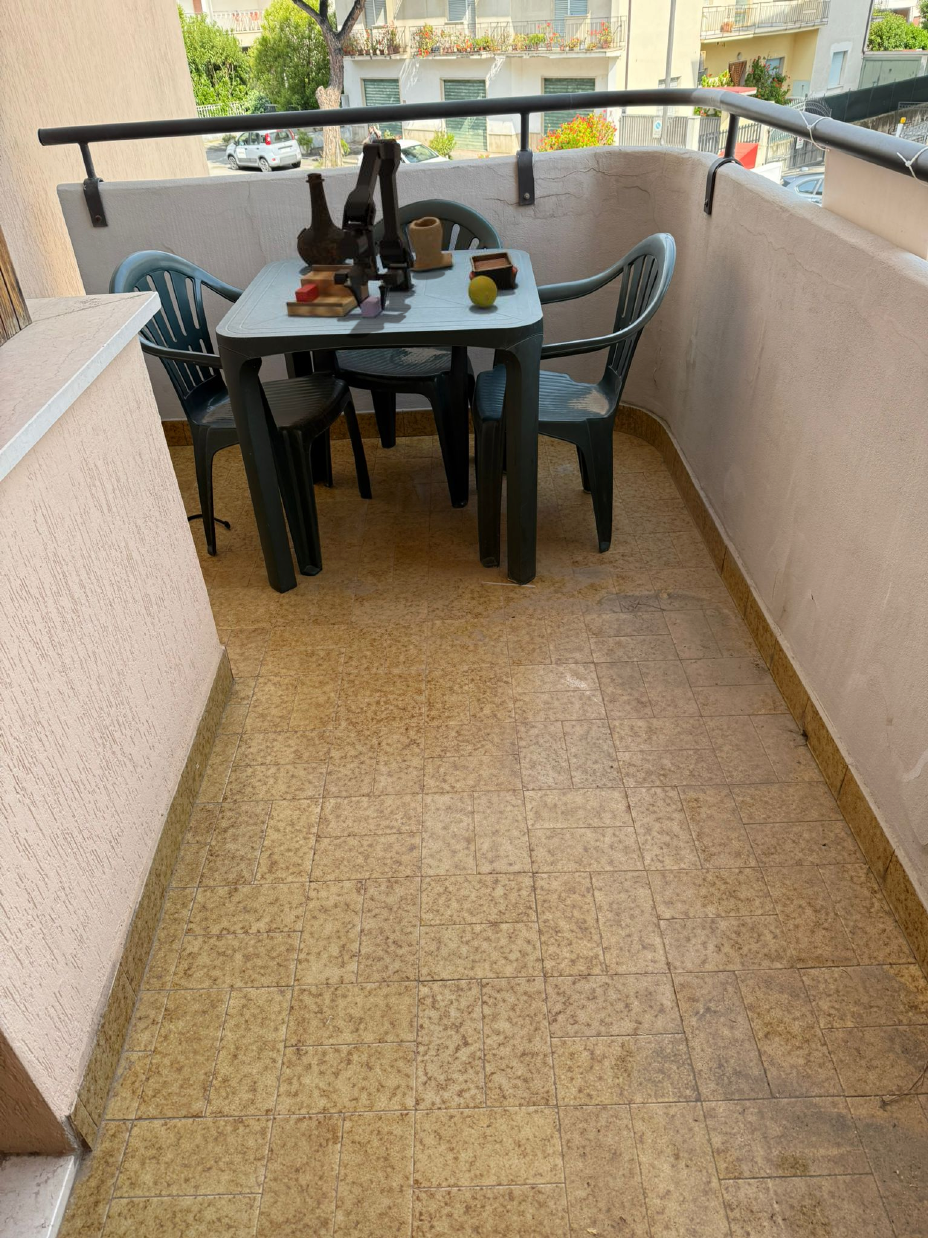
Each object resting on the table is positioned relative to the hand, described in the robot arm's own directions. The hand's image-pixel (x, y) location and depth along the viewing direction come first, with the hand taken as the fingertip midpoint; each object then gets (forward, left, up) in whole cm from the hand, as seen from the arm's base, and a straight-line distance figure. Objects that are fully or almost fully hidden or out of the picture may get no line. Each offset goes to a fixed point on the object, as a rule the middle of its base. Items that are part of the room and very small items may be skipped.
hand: (372, 309), depth 234 cm
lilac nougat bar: (0, 0, -1) cm, 1 cm away
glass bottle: (+35, -49, -1) cm, 60 cm away
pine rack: (+16, -7, -1) cm, 17 cm away
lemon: (-30, -8, -1) cm, 31 cm away
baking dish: (-28, -29, -1) cm, 40 cm away
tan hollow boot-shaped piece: (-3, -47, -1) cm, 47 cm away
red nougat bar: (+20, -2, +2) cm, 21 cm away
